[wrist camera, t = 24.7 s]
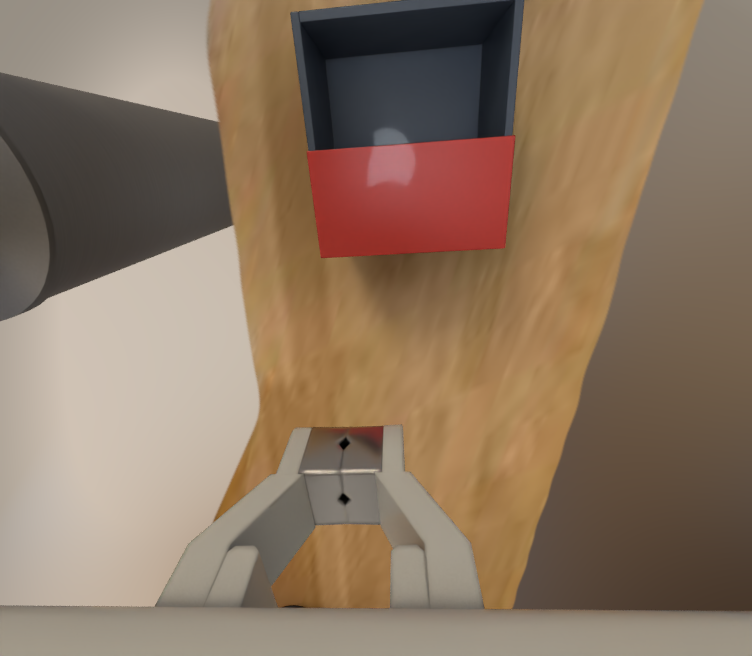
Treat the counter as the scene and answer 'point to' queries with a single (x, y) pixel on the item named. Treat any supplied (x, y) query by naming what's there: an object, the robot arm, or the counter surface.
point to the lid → (412, 197)
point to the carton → (408, 71)
